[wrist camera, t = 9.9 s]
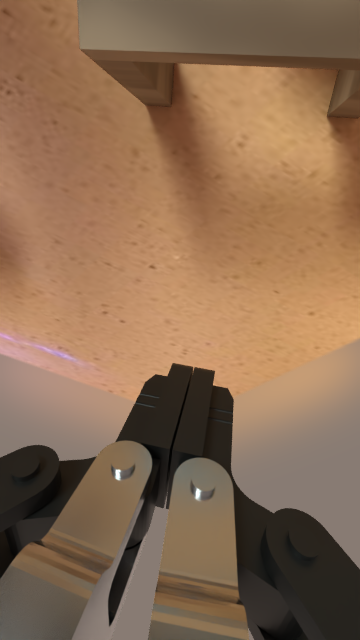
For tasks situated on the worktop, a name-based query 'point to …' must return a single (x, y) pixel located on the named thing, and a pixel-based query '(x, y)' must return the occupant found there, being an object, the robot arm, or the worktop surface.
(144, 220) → the worktop surface
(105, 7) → the bridge
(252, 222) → the worktop surface
